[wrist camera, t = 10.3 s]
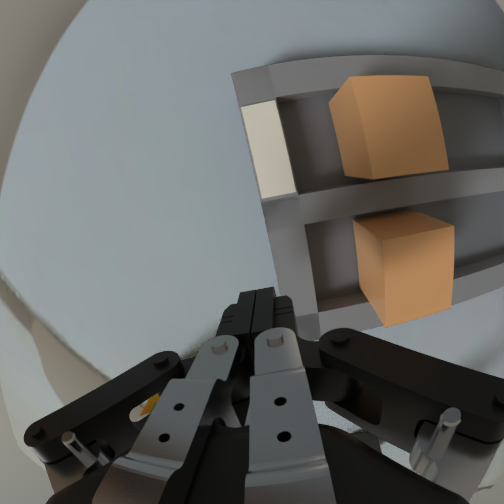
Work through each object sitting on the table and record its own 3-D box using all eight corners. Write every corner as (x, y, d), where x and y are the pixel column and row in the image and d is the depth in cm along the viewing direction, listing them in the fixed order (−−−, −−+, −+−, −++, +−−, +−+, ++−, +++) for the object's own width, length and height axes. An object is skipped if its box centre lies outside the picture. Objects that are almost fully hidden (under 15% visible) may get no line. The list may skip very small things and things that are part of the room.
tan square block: (389, 97, 13) (428, 76, 8) (404, 167, 14) (449, 169, 10) (328, 102, 14) (349, 76, 9) (344, 175, 15) (373, 179, 10)
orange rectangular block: (410, 208, 15) (454, 225, 10) (413, 274, 16) (450, 307, 11) (352, 219, 16) (381, 240, 11) (359, 286, 17) (384, 327, 12)
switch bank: (491, 81, 13) (517, 74, 9) (509, 260, 17) (533, 273, 14) (239, 90, 16) (230, 71, 12) (288, 317, 20) (290, 346, 17)
